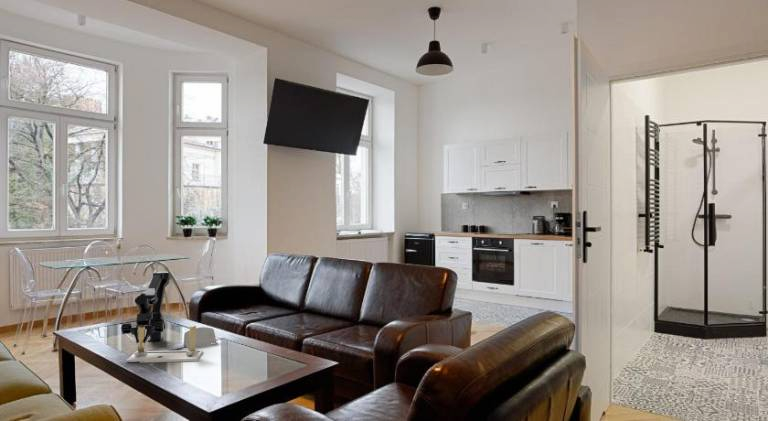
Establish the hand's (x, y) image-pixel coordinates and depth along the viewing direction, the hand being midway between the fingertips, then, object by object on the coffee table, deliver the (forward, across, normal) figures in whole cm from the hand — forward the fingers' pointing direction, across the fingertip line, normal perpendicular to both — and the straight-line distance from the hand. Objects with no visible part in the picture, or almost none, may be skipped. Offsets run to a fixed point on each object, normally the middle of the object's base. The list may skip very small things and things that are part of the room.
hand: (140, 342), depth 227 cm
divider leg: (+4, 0, +4) cm, 6 cm away
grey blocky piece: (-7, +27, +19) cm, 33 cm away
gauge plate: (+6, +12, +5) cm, 14 cm away
